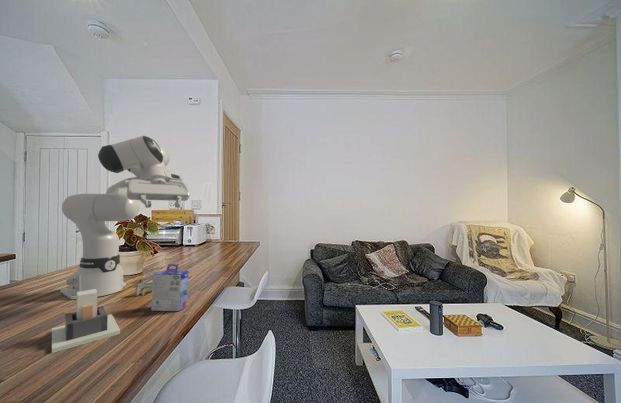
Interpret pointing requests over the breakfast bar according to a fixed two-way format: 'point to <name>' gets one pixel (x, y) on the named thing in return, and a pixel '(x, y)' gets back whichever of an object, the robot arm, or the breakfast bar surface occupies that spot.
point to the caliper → (143, 285)
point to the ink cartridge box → (170, 290)
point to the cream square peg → (86, 304)
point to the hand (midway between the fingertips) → (163, 206)
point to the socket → (83, 330)
